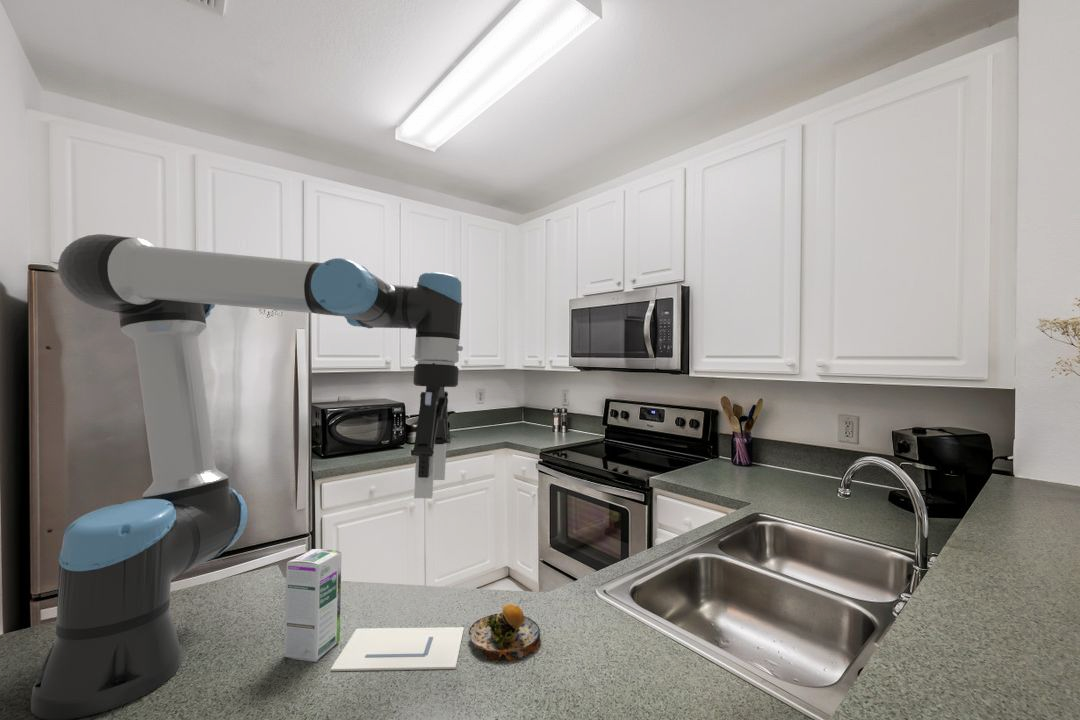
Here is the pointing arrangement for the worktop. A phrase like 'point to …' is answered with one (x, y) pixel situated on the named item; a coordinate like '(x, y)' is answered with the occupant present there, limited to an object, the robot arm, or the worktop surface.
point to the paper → (401, 649)
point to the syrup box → (312, 604)
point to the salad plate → (506, 634)
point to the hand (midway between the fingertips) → (430, 488)
